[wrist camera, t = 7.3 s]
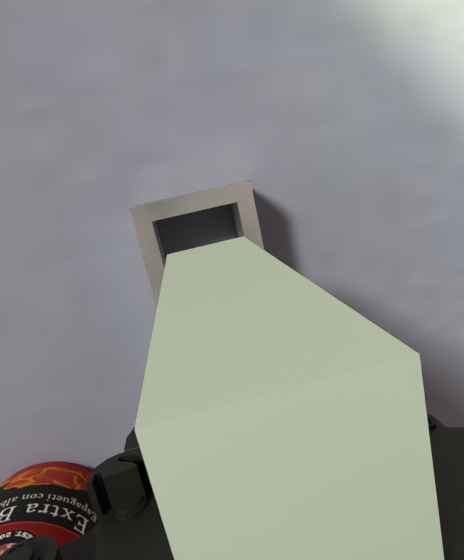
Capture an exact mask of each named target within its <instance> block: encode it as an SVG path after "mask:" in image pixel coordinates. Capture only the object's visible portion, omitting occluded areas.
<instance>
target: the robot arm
mask: <svg viewBox="0 0 464 560" xmlns="http://www.w3.org/2000/svg"><path fill="white" fill-rule="evenodd" d="M427 420H428V428H429V437H430V445H431V453H432V461H433V470H434V478H435V486H436V495H437V503H438V511H439V519H440V528H441V536H442V544H443V553H444V560H464V427H461V428H447V427H444V426H443V425H442V424H441V423H440V422H439V421H438V420H437V419H436V418H434V417H433V416H431V415H428V414H427ZM124 450H125V452H124V453H121V454H117V455H115V456H113V457H111V458H109V459H107V460H105V461H104V462H103V463H101V464H100V465H98V466H97V467H96V468H95V469H94V470H93V471H92V473H91V474H90V475H89V476H88V479H87V482H86V484H85V486H86V488H87V491H88V494H89V497H90V500H91V503H92V506H93V508H94V511H95V514H96V517H97V525H96V526H95V527H93V528H92V529H91V530H90V531H88V532H86V533H85V534H83V535H81V536H80V537H78V538H76V539H74V540H72V541H70V542H68V543H67V544H65V545H63V546H61V547H59V548H58V547H57V544H56V542H55V539H54V538H51V537H49V536H47V535H41V536H33V537H31V538H28V539H25V540H22V541H20V542H19V543H17V544H16V545H14V546H12V547H11V548H9V549H8V550H6V551H5V552H4V553H3V554H2V555H1V556H0V560H174V557H173V554H172V551H171V547H170V544H169V541H168V538H167V534H166V531H165V528H164V525H163V521H162V518H161V515H160V511H159V508H158V505H157V502H156V498H155V495H154V492H153V489H152V485H151V482H150V479H149V476H148V472H147V469H146V466H145V463H144V459H143V456H142V453H141V450H140V446H139V443H138V440H137V437H136V433H135V427H134V429H133V430H132V431H131V433H130V434H129V435H128V437H127V439H126V444H125V449H124Z"/></svg>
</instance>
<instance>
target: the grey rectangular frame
mask: <svg viewBox="0 0 464 560" xmlns="http://www.w3.org/2000/svg"><path fill="white" fill-rule="evenodd" d="M230 203H231V207H232V211H233V216H234V221H235V225H236V230H237V235H238V238H239V237H243V236H244V237H245V238H247V239H248V240H250V241H251V242H253V243H254V244H256V245H257V246H259V247H260V248H262V249H263V250H264V246H263V241H262V236H261V231H260V226H259V221H258V216H257V211H256V206H255V201H254V196H253V191H252V186H251V181H245V182H240V183H235V184H231V185H226V186H222V187H217V188H213V189H209V190H204V191H200V192H195V193H191V194H186V195H182V196H177V197H173V198H168V199H164V200H160V201H155V202H151V203H146V204H142V205H137V206H134V207H131V208H130V211H131V215H132V218H133V222H134V226H135V229H136V233H137V237H138V240H139V244H140V248H141V251H142V255H143V259H144V262H145V266H146V270H147V273H148V277H149V281H150V284H151V288H152V292H153V295H154V299H155V303H156V306H158V301H159V296H160V290H161V285H162V280H163V274H164V269H165V264H166V259H165V255H164V251H163V247H162V243H161V239H160V236H159V232H158V228H157V224H156V220H160V219H165V218H169V217H173V216H178V215H182V214H187V213H191V212H195V211H200V210H204V209H209V208H213V207H217V206H222V205H226V204H230Z"/></svg>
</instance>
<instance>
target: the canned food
mask: <svg viewBox="0 0 464 560" xmlns="http://www.w3.org/2000/svg"><path fill="white" fill-rule="evenodd" d="M91 473H92V472H91V471H89V470H87V469H86V468H84V467H81V466H78V465H75V464H71V463H64V462H46V463H40V464H36V465H32V466H30V467H27V468H25V469H23V470H20V471H19V472H17V473H16V474H14V475H13V476H11V477H10V478H8V479H7V480H6V481H5V482H3V483H2V484H1V485H0V556H1V555H2V554H3V553H4V552H5V551H6V550H8V549H9V548H11V547H12V546H14V545H16V544H17V543H19V542H20V541H22V540H25V539H28V538H31V537H33V536H41V535H47V536H49V537H51V538H54V539H55V542H56V544H57V547H58V548H59V547H61V546H63V545H65V544H67V543H68V542H70V541H72V540H74V539H76V538H78V537H80V536H81V535H83V534H85V533H86V532H88V531H90V530H91V529H92V528H93V527H95V526H96V525H97V517H96V514H95V511H94V508H93V506H92V503H91V500H90V497H89V494H88V491H87V488H86V486H85V484H86V482H87V479H88V476H89V475H90V474H91Z"/></svg>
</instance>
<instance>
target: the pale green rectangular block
mask: <svg viewBox="0 0 464 560" xmlns="http://www.w3.org/2000/svg"><path fill="white" fill-rule="evenodd" d="M135 433H136V437H137V440H138V443H139V446H140V450H141V453H142V456H143V459H144V463H145V466H146V469H147V472H148V476H149V479H150V482H151V485H152V489H153V492H154V495H155V498H156V502H157V505H158V508H159V511H160V515H161V518H162V521H163V525H164V528H165V531H166V534H167V538H168V541H169V544H170V547H171V551H172V554H173V557H174V560H444V553H443V544H442V536H441V528H440V519H439V511H438V503H437V495H436V486H435V478H434V470H433V461H432V453H431V445H430V437H429V428H428V420H427V412H426V403H425V395H424V387H423V379H422V370H421V362H420V354H419V353H417V352H416V351H414V350H413V349H411V348H410V347H408V346H407V345H405V344H404V343H402V342H401V341H399V340H398V339H396V338H395V337H393V336H392V335H390V334H389V333H387V332H386V331H384V330H383V329H381V328H380V327H378V326H377V325H375V324H374V323H372V322H371V321H369V320H368V319H366V318H365V317H363V316H362V315H360V314H359V313H357V312H356V311H354V310H353V309H351V308H350V307H348V306H347V305H345V304H344V303H342V302H341V301H339V300H338V299H336V298H335V297H333V296H332V295H330V294H329V293H327V292H326V291H324V290H323V289H321V288H320V287H318V286H317V285H315V284H314V283H312V282H311V281H309V280H308V279H306V278H305V277H303V276H302V275H300V274H299V273H297V272H296V271H294V270H293V269H291V268H290V267H288V266H287V265H286V264H284V263H283V262H281V261H280V260H278V259H277V258H275V257H274V256H272V255H271V254H269V253H268V252H266V251H265V250H263V249H262V248H260V247H259V246H257V245H256V244H254V243H253V242H251V241H250V240H248V239H247V238H245V237H244V236H243V237H239V238H235V239H230V240H226V241H222V242H218V243H213V244H209V245H205V246H201V247H196V248H192V249H188V250H184V251H179V252H175V253H171V254H167V258H166V264H165V269H164V274H163V280H162V285H161V290H160V296H159V301H158V306H157V312H156V317H155V322H154V328H153V333H152V339H151V344H150V349H149V355H148V360H147V365H146V371H145V376H144V381H143V387H142V392H141V397H140V403H139V408H138V414H137V419H136V424H135Z"/></svg>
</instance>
